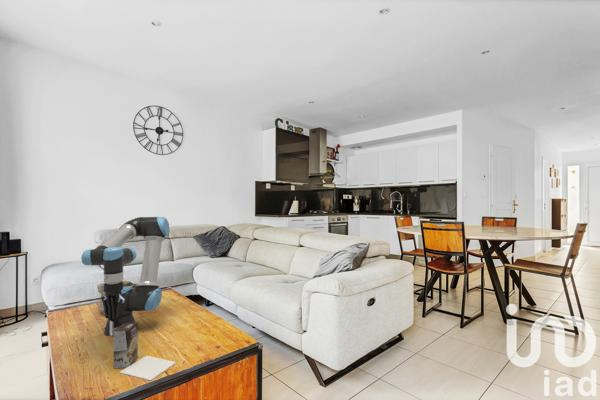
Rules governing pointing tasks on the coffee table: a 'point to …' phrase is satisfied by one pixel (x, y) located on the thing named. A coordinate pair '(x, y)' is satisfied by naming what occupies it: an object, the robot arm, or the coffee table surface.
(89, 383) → the coffee table surface
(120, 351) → the coffee box
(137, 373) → the mat
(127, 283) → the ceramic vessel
